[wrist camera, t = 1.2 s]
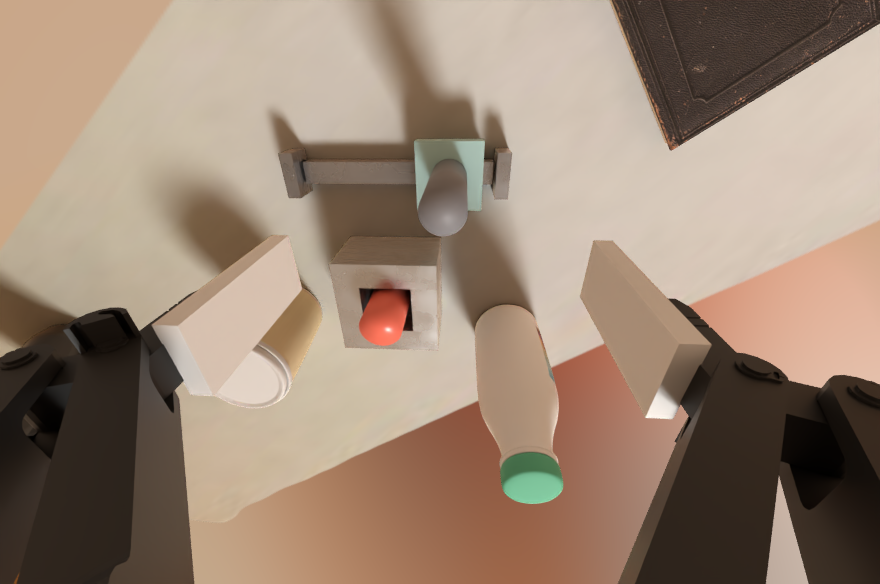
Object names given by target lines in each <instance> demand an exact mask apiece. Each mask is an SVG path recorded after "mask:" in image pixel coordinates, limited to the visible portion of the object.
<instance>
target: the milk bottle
mask: <svg viewBox="0 0 880 584" xmlns="http://www.w3.org/2000/svg"><path fill="white" fill-rule="evenodd" d="M475 349H476V371H477V389H478V399H479V405H480V410H481V413H482V416H483V419H484V421H485V423H486V425H487V427H488V429H489V430H490V432H491V433H492V435H493V436H494V438H495V440H496V442H497V444H498V446H499V449H500V451H501V455H502V457H501V459H500V468H501V471H500V474H501V483H502V488H503V491H504V493H505V494H506V495H507V496H508V497H510V498H511V499H513V500H515V501H518V502H522V503H530V504H535V503H543V502H547V501H550V500H552V499H554V498H555V497H557V496H558V495H559V494H560V493H561V491H562V489H563V479H562V474H561V470H560V467H559V465H558V459H557V457H556V455H555V454H554V453H553V450H552V444H553V435H554V430H555V427H556V423H557V419H558V411H559V403H558V394H557V389H556V385H555V382H554V377H553V374H552V370H551V367H550V364H549V360H548V357H547V354H546V350H545V347H544V344H543V341H542V337H541V334H540V331H539V328H538V325H537V322H536V320H535V318H534V317H533V315H532V314H531V313H530V312H528V311H527V310H526V309H524V308H522V307H520V306H516V305H509V304H506V305H499V306H495V307H493V308H490V309H489V310H487V311H486V312H485V313H484V314H483V315H482V316H481V317H480V318H479V320H478V321H477V324H476V327H475Z"/></svg>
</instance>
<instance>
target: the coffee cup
mask: <svg viewBox="0 0 880 584" xmlns="http://www.w3.org/2000/svg"><path fill="white" fill-rule="evenodd" d="M321 321H322V308H321V306H320V304H319V302H318V300H317V299H316V298H315V297H314V296H313V295H312V294H311V293H310V292H309V291H307V290H306V289H304V288H302V290H301V291H300V293H299V294H298V295H297V296H296V297H295V299H294V300H293V301H292V302H291V303H290V305H289V306H288V307H287V308H286V310H285V311H284V312H283V313H282V314H281V316H280V317H279V318H278V319H277V320H276V322H275V323H274V324H273V325H272V326H271V328H270V329H269V330H268V331H267V332H266V334H265V335H264V336H263V337H262V339H261V340H260V341H259V342H258V343H257V345H256V346H255V347H254V348H253V349H252V351H251V352H250V353H249V354H248V355H247V357H246V358H245V359H244V360H243V361H242V363H241V364H240V365H239V366H238V368H237V369H236V370H235V371H234V372H233V374H232V375H231V376H230V377H229V378H228V380H227V381H226V382H225V383H224V384H223V386H222V387H221V388H220V389H219V391H218V392H217V393H216V394H215V396H216V397H218V398H220V399H222V400H224V401H226V402H228V403H231V404H233V405H236V406H240V407H245V408H263V407H268V406H271V405H273V404H275V403H276V402H278V401H279V400H281V399H282V398H284V397H285V395H286V394H287V393H288V391H289V390H290V387H291V385H292V381H293V379H294V377H295V375H296V373H297V371H298V369H299V367H300V365H301V363H302V361H303V359H304V357H305V355H306V353H307V351H308V349H309V347H310V345H311V343H312V341H313V339H314V337H315V334H316V332H317V330H318V328H319V326H320V324H321Z"/></svg>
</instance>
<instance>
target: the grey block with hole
mask: <svg viewBox="0 0 880 584" xmlns="http://www.w3.org/2000/svg"><path fill="white" fill-rule="evenodd" d="M329 268H330V273H331V278H332V283H333V288H334V293H335V298H336V303H337V308H338V313H339V318H340V323H341V328H342V333H343V338H344V343H345V348H373V349H402V350H432V351H438V345H439V335H440V326H441V316H442V284H441V237H378V236H350V238H349V239H348V240H347V241H346V243H345V244H344V245H343V247H342V248H341V249H340V250H339V252H338V253H337V254H336V256H335V257H334V258H333V259H332V261H331V262H330V263H329ZM374 289H411V300H410V304H409V308H408V312H407V316H406V319H405V323H404V327H403V331H402V335H401V337H400V339H399V340H398V341H397V342H395V343H393V344H391V345H386V346H381V345H376V344H373V343H371V342H369V341H367V340H366V339H365V338H364V337H363V336H362V334H361V332H360V330H359V322H360V319H361V317H362V315H363V313H364V311H365V308H366V306H367V304H368V302H369V300H370V297H371V295H372V293H373V291H374Z"/></svg>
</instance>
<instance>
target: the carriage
mask: <svg viewBox="0 0 880 584" xmlns="http://www.w3.org/2000/svg"><path fill="white" fill-rule="evenodd" d="M484 148H485V140H484V139H416V140H415V141H414V152H415V173H416V194H417V210H418V217H419V220H420V222H421V224H422V226H423V227H424V228H425V229H426V230H427V231H428V232H430V233H432V234H434V235H437V236H450V235H453V234H455V233H457V232H458V231H459V230H460V229H461V228H462V227H463V226H464V224H465V223H466V220H467V216H468V211H481V205H482V186H483V167H484Z"/></svg>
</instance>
